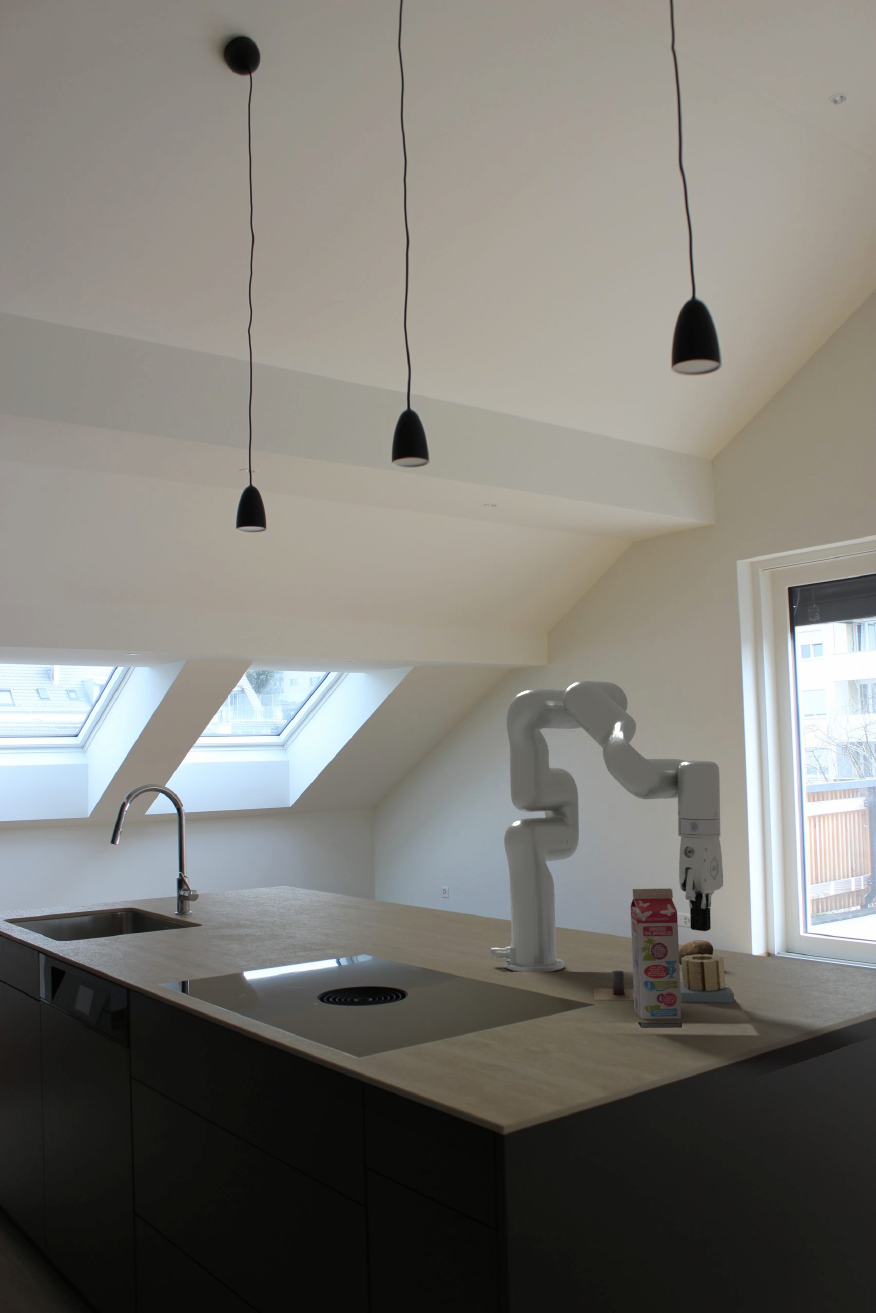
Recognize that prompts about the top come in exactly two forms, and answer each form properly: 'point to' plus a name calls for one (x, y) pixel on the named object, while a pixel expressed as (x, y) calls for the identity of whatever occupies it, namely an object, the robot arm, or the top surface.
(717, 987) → the ring
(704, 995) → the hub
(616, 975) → the stand
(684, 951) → the brown potato
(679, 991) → the juice carton
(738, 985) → the top surface
